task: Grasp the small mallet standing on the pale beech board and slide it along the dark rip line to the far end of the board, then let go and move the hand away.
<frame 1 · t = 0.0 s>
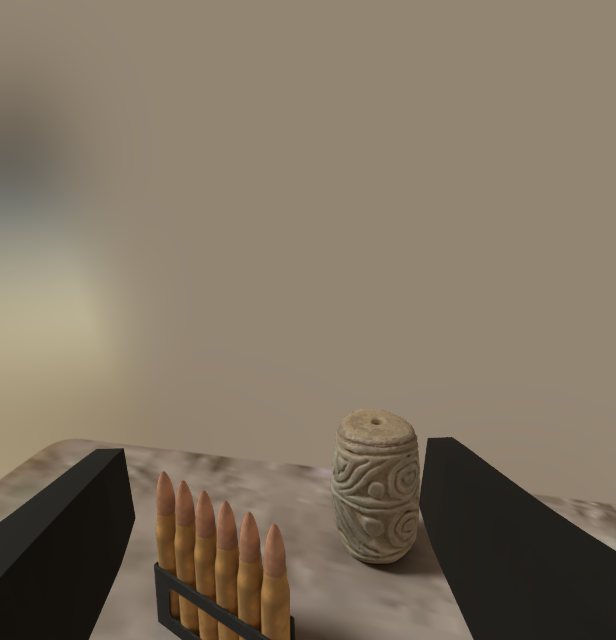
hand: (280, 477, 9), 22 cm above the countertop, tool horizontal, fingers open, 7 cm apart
carving: (371, 545, 35), on the countertop
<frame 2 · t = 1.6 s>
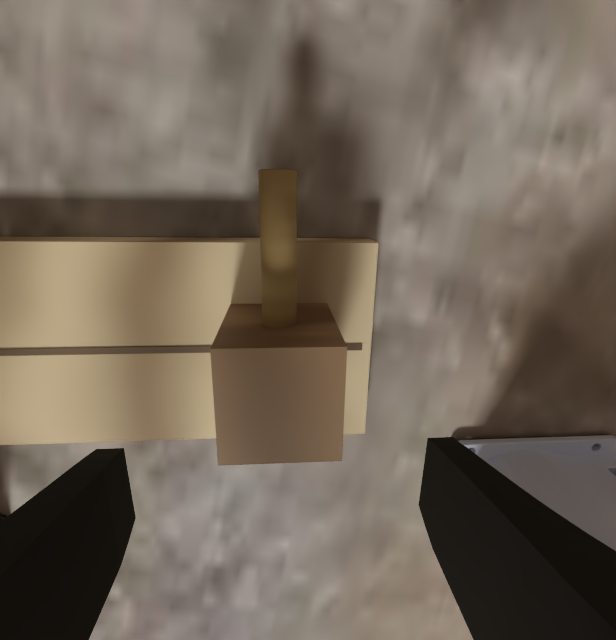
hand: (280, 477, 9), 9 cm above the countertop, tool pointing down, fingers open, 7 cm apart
board: (170, 336, 18), on the countertop
mallet: (279, 348, 17), point 2 cm above the countertop, touching board
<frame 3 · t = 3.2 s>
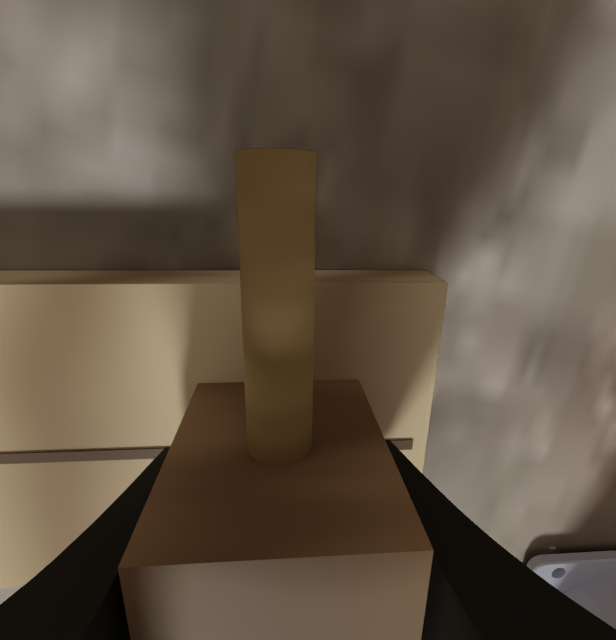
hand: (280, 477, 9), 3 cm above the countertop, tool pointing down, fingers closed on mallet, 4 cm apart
board: (109, 421, 11), on the countertop
mallet: (280, 449, 10), point 2 cm above the countertop, touching board, gripper
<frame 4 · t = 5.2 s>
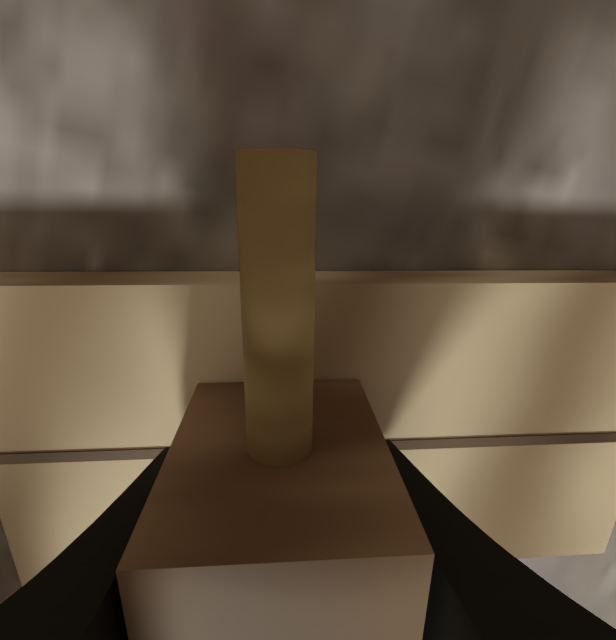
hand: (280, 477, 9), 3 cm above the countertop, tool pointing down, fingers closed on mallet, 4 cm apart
board: (327, 415, 12), on the countertop
mallet: (280, 449, 10), point 2 cm above the countertop, touching gripper
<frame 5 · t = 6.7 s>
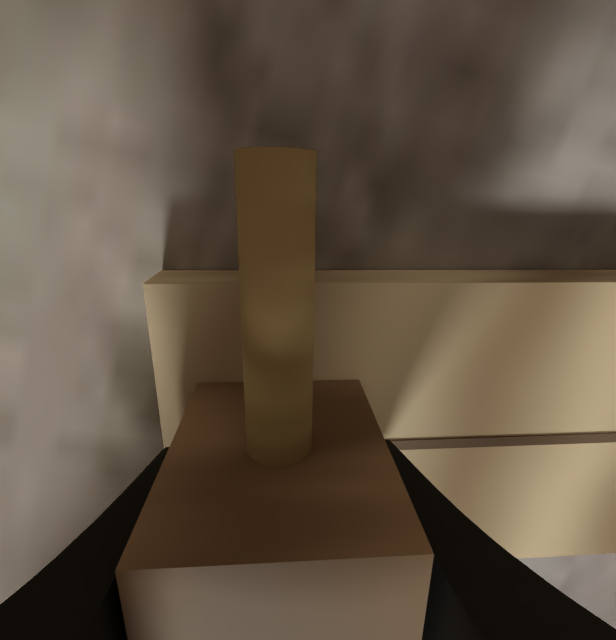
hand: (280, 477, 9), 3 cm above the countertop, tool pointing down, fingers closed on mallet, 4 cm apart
board: (471, 411, 12), on the countertop
mallet: (280, 449, 10), point 2 cm above the countertop, touching gripper
when the fingers open (3 cm above the countertop, at t = 7.4 s): mallet stays where it is, resting on board.
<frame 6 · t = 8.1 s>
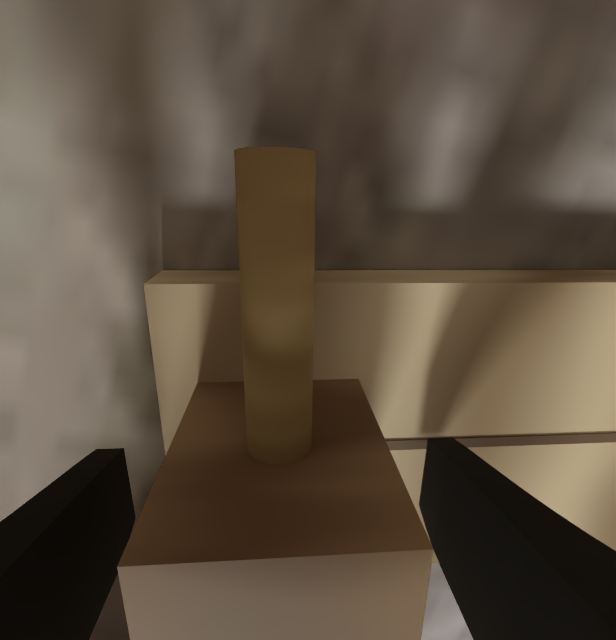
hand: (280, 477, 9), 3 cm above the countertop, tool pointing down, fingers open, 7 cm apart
board: (471, 411, 12), on the countertop
mallet: (279, 449, 10), point 2 cm above the countertop, touching board
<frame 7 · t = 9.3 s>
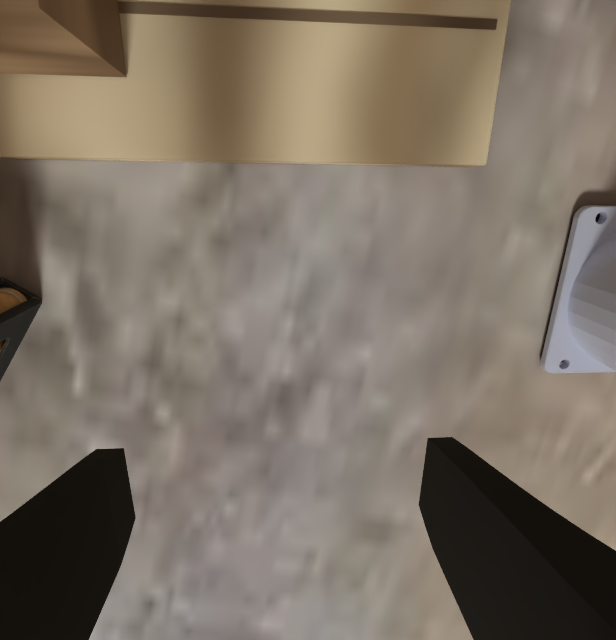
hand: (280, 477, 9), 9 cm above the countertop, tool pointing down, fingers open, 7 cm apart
board: (248, 30, 14), on the countertop
mallet: (53, 3, 12), point 2 cm above the countertop, touching board
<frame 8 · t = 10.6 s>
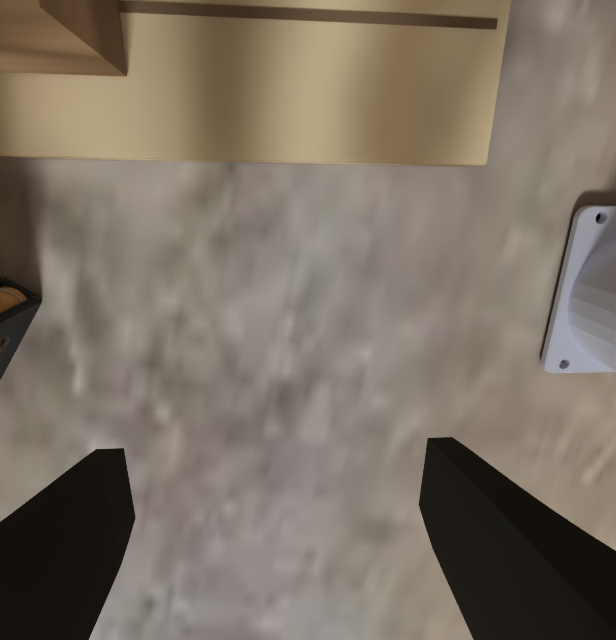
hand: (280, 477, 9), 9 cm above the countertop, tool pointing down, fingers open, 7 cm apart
board: (248, 29, 14), on the countertop
mallet: (53, 2, 12), point 2 cm above the countertop, touching board
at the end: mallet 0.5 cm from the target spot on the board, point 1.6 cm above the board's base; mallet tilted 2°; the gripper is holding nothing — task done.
